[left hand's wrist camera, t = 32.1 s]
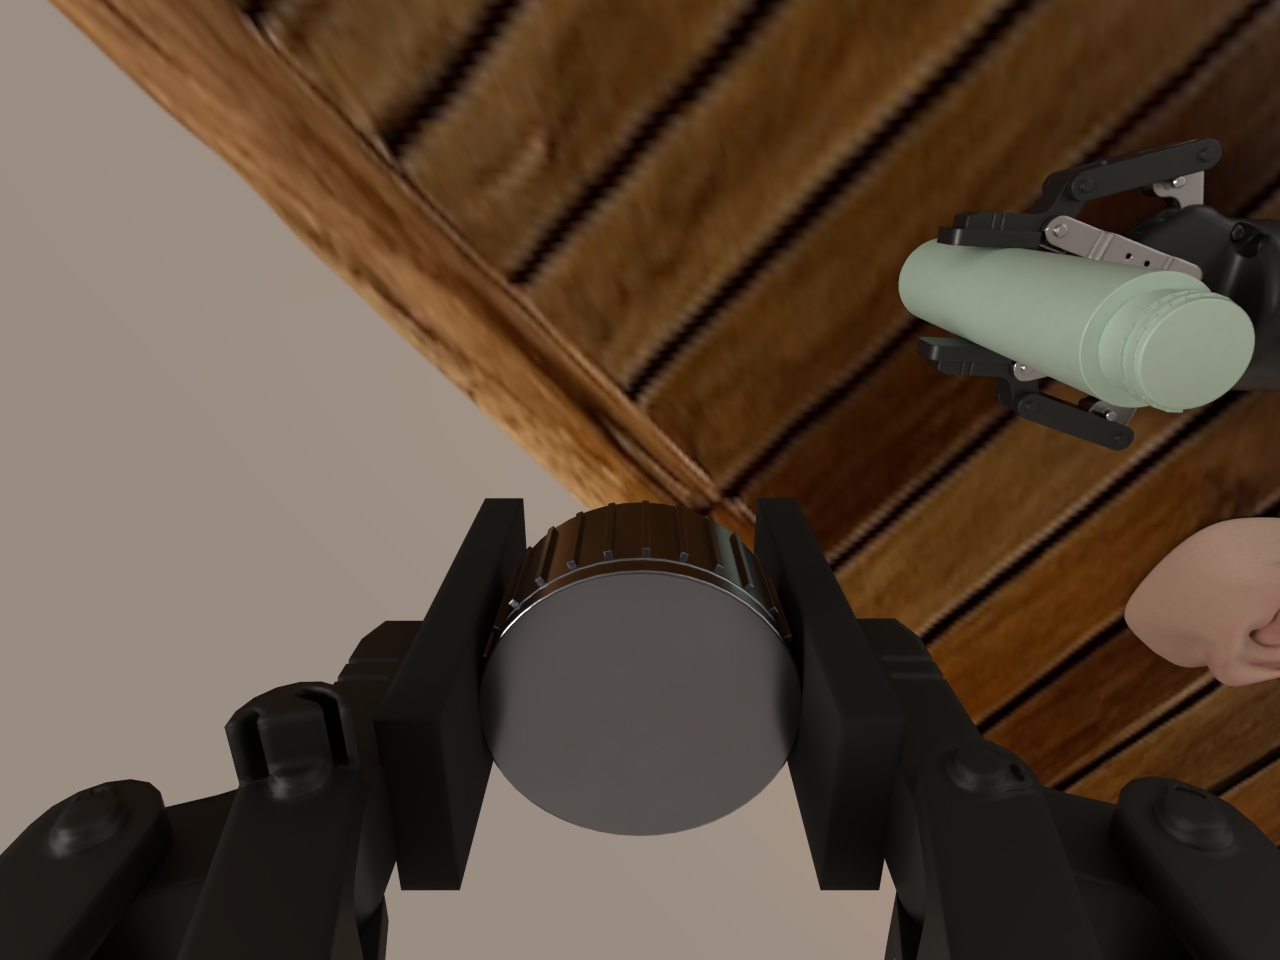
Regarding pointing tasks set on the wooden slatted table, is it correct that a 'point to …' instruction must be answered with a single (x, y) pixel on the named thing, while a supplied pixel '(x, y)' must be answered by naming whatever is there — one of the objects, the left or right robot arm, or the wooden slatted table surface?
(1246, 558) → the anatomical model
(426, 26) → the wooden slatted table surface
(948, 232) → the right robot arm
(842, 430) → the wooden slatted table surface
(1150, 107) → the wooden slatted table surface
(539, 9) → the wooden slatted table surface
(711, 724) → the lid
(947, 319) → the pale green tube
